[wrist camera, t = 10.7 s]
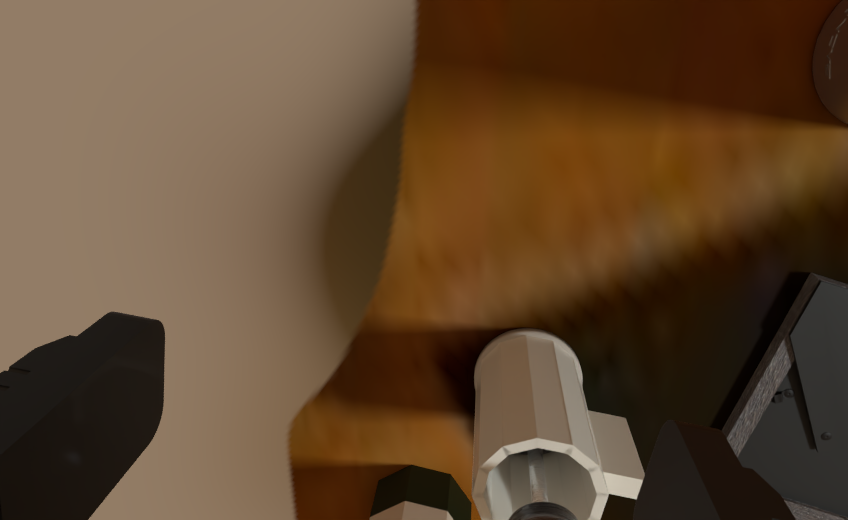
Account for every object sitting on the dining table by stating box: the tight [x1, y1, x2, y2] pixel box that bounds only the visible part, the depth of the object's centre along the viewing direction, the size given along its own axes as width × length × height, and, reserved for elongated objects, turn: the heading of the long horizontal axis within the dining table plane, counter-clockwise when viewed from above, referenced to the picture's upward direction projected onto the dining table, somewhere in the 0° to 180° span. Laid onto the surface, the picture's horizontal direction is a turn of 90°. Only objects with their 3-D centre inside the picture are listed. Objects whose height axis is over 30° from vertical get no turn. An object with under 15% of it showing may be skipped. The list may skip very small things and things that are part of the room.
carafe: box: [472, 328, 645, 520], centre depth 42 cm, size 10×8×13 cm
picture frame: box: [722, 273, 848, 520], centre depth 46 cm, size 13×2×18 cm
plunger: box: [509, 448, 577, 520], centre depth 37 cm, size 5×5×13 cm
